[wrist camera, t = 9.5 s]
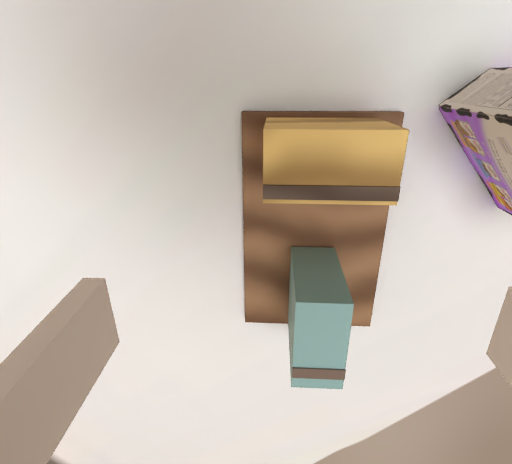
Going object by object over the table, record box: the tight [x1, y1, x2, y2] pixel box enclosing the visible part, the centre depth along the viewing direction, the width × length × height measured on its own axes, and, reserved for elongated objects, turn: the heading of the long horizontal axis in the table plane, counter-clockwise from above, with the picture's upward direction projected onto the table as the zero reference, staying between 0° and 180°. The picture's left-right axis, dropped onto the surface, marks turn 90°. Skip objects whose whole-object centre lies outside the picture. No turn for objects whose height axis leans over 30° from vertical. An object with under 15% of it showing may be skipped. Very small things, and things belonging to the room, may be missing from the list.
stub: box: [288, 247, 354, 389], centre depth 37 cm, size 10×5×11 cm, turn 0°
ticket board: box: [242, 111, 409, 326], centre depth 36 cm, size 26×16×10 cm, turn 0°
